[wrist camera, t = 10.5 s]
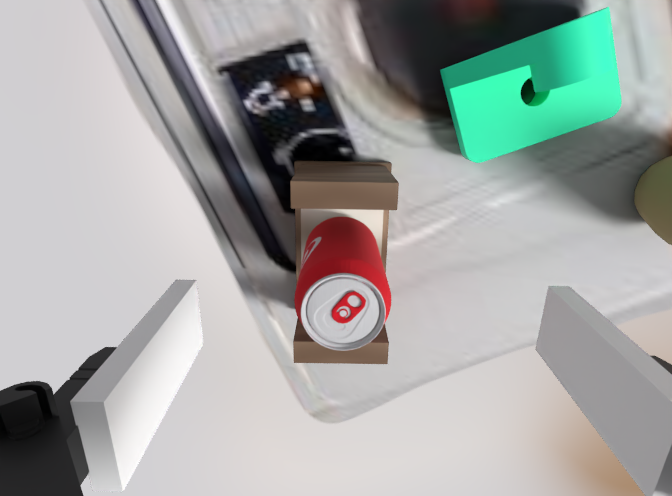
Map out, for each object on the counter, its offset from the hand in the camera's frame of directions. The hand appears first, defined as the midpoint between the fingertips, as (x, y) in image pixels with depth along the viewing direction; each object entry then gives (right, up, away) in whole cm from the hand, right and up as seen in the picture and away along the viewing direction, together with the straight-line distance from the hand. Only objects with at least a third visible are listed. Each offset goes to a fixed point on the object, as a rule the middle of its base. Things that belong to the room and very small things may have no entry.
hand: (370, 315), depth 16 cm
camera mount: (+14, +15, +19) cm, 28 cm away
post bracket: (-1, +3, +22) cm, 22 cm away
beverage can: (-1, +3, +21) cm, 21 cm away
